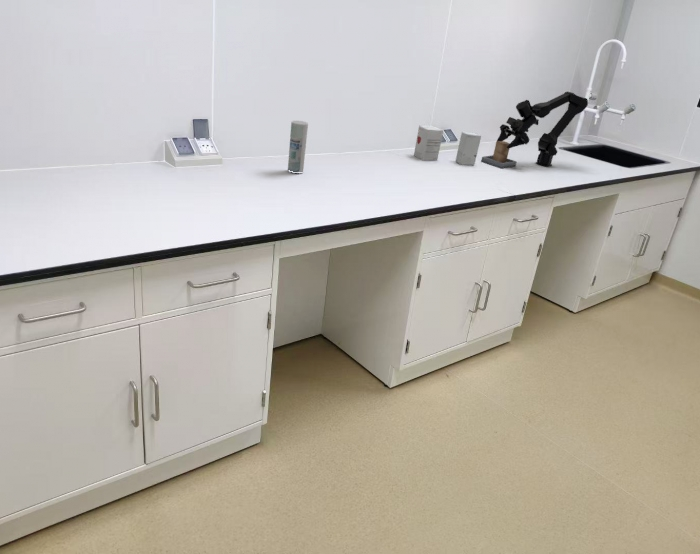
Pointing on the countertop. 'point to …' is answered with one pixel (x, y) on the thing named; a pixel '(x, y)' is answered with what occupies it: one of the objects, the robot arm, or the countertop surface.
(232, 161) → the countertop surface
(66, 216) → the countertop surface
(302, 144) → the spray can
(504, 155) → the walnut block
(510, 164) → the grey tray
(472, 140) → the skincare box
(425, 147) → the supplement box
